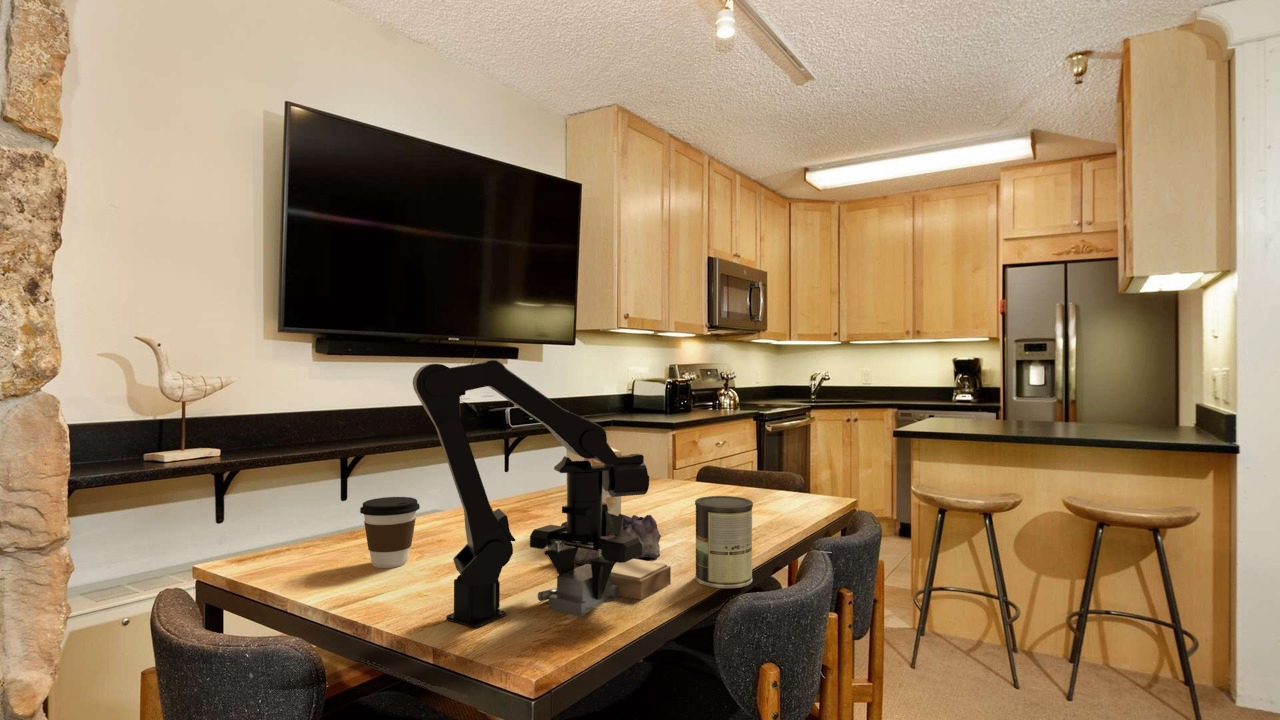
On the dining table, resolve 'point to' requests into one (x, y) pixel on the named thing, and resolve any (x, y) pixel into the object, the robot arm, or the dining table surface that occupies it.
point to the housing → (579, 592)
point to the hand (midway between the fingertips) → (584, 596)
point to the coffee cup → (389, 529)
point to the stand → (640, 577)
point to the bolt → (546, 594)
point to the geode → (633, 528)
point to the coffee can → (724, 541)
